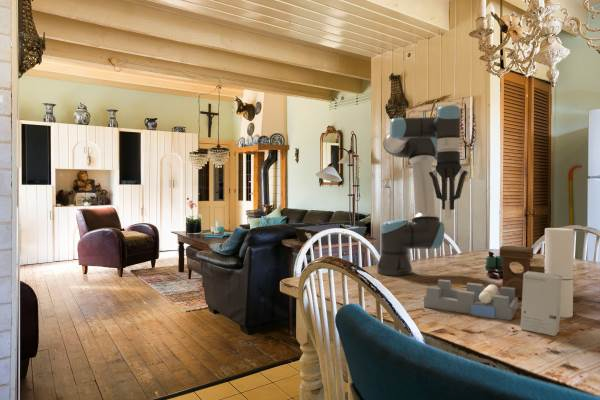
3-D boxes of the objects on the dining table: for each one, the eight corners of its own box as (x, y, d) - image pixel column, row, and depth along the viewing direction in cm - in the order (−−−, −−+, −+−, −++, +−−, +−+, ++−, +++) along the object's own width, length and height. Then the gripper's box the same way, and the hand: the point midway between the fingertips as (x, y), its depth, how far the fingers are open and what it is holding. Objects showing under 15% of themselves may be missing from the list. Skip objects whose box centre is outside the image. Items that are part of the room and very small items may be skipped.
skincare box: (520, 330, 109) (520, 273, 109) (525, 324, 114) (526, 270, 113) (557, 337, 104) (558, 277, 103) (561, 330, 108) (562, 274, 108)
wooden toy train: (498, 297, 142) (498, 248, 141) (502, 290, 151) (502, 244, 151) (568, 305, 131) (568, 253, 130) (567, 297, 141) (568, 248, 140)
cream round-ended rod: (476, 303, 122) (478, 291, 121) (486, 292, 134) (488, 282, 133) (489, 306, 120) (491, 295, 119) (498, 295, 132) (500, 285, 131)
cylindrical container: (568, 311, 125) (569, 228, 124) (576, 318, 118) (576, 230, 117) (541, 309, 127) (542, 227, 126) (547, 316, 120) (548, 230, 120)
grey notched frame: (423, 307, 130) (423, 287, 130) (437, 296, 143) (437, 279, 142) (510, 320, 116) (510, 299, 116) (517, 307, 129) (517, 288, 129)
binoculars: (492, 256, 166) (483, 250, 176) (491, 281, 168) (482, 274, 178) (515, 256, 166) (505, 250, 175) (514, 282, 167) (504, 274, 177)
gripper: (426, 151, 144) (426, 219, 145) (465, 149, 137) (465, 220, 138) (432, 153, 151) (432, 217, 151) (470, 150, 143) (470, 219, 144)
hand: (448, 219), depth 145 cm, fingers closed
